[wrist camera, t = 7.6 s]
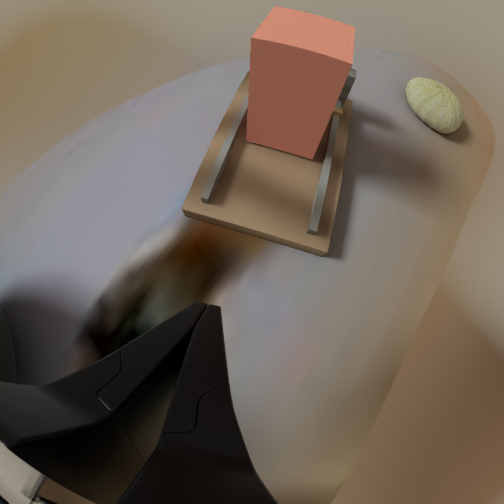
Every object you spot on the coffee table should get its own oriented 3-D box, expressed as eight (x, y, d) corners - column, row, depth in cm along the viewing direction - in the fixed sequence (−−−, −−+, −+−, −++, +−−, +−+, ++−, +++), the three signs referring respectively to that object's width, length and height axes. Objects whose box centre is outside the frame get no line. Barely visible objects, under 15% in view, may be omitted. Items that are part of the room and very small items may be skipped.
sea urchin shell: (397, 69, 28) (446, 61, 22) (413, 106, 33) (457, 100, 28) (406, 109, 26) (465, 101, 20) (421, 149, 31) (471, 144, 25)
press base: (322, 256, 23) (348, 235, 17) (185, 215, 23) (169, 182, 17) (348, 109, 27) (365, 72, 21) (247, 80, 27) (249, 40, 21)
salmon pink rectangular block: (312, 159, 23) (352, 64, 12) (246, 140, 23) (251, 37, 12) (322, 114, 24) (354, 27, 14) (264, 98, 24) (275, 6, 14)
